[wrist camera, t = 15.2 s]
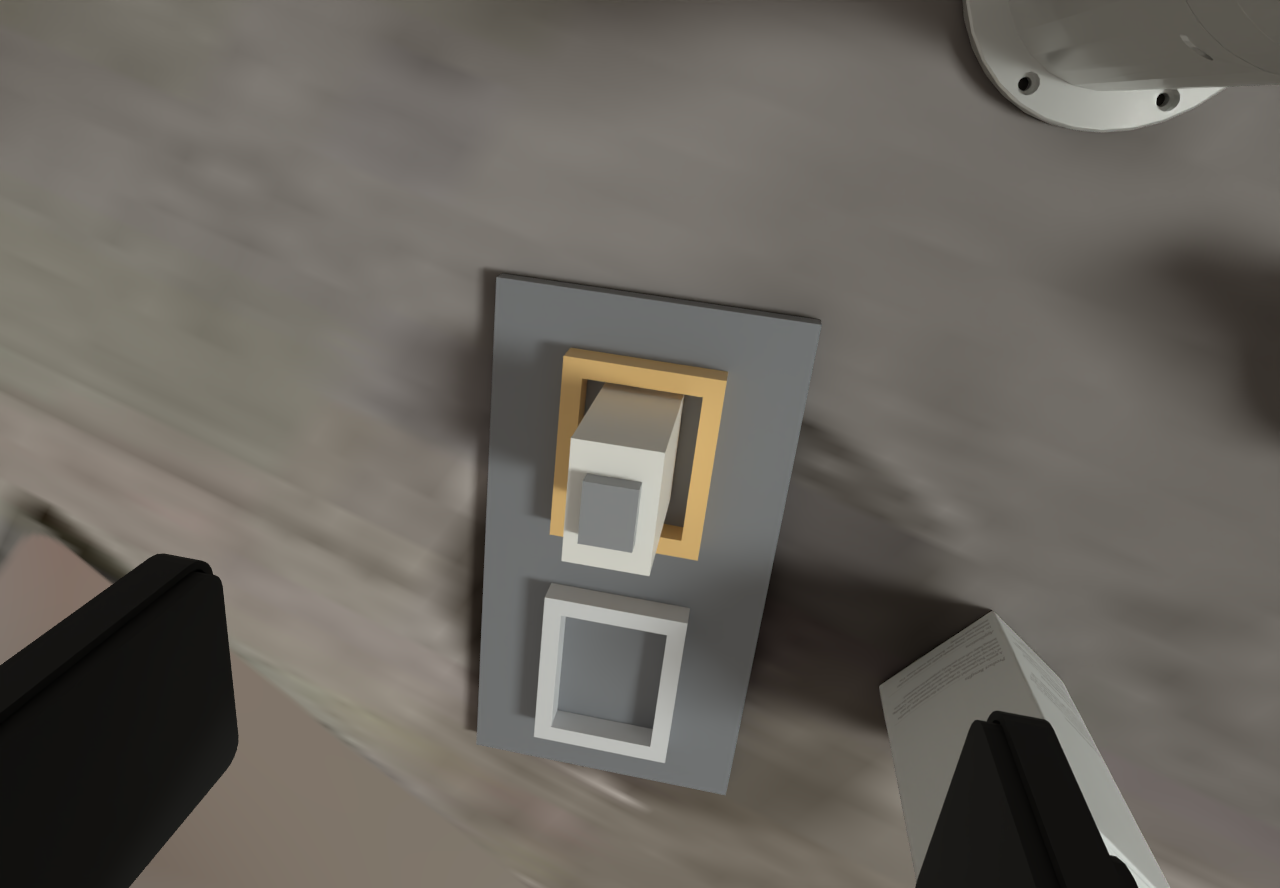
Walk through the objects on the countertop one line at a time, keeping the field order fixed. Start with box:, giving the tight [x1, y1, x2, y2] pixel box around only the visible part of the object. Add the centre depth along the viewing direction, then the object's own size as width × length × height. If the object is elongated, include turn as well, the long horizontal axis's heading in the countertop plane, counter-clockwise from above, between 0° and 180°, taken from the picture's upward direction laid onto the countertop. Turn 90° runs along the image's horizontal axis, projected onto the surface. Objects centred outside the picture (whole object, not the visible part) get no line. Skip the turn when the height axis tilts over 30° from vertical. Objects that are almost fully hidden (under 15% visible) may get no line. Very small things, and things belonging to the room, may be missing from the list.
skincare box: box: [879, 611, 1170, 888], centre depth 39 cm, size 8×7×16 cm
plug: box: [561, 382, 684, 576], centre depth 39 cm, size 4×6×9 cm, turn 174°
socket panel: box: [477, 273, 822, 795], centre depth 45 cm, size 16×30×2 cm, turn 173°
